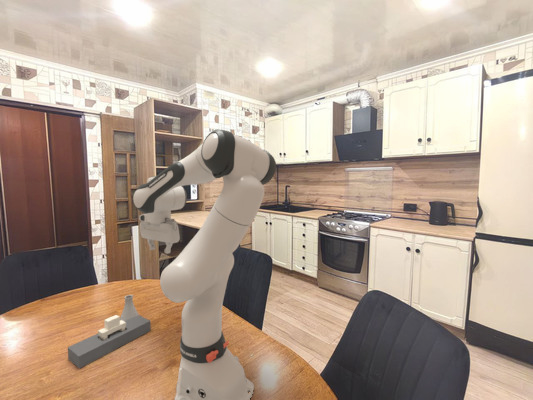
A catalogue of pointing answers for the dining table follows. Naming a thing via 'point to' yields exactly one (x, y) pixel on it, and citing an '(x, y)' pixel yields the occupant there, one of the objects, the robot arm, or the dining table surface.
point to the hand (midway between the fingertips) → (159, 251)
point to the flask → (128, 309)
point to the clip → (111, 327)
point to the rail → (107, 342)
